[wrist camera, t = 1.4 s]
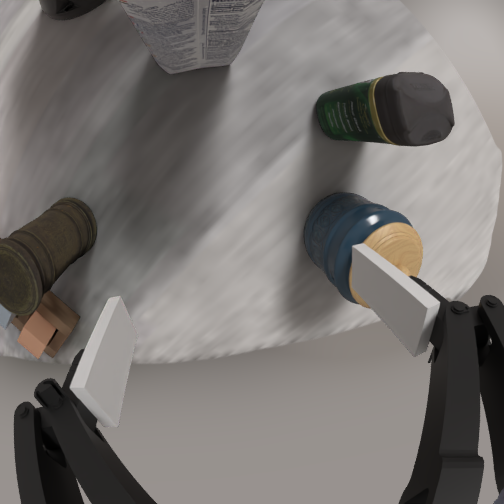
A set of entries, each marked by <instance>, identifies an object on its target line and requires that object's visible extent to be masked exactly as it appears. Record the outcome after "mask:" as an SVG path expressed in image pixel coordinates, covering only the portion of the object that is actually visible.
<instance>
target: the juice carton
mask: <svg viewBox="0 0 504 504" xmlns="http://www.w3.org/2000/svg"><path fill="white" fill-rule="evenodd" d="M119 2H120V3H121V5H122V7H123V8H124V10H125V12H126V13H127V15H128V17H129V18H130V20H131V21H132V23H133V25H134V26H135V28H136V30H137V31H138V33H139V35H140V36H141V38H142V39H143V41H144V43H145V44H146V46H147V48H148V49H149V51H150V53H151V54H152V56H153V57H154V59H155V61H156V62H157V63H158V65H159V66H160V67H162V68H163V69H164V70H165V71H166V72H167V73H169V74H175V73H180V72H185V71H189V70H193V69H198V68H206V67H217V66H225V65H230V64H231V63H232V62H233V61H234V59H235V58H236V57H237V55H238V54H239V52H240V50H241V48H242V46H243V44H244V42H245V40H246V37H247V35H248V33H249V31H250V29H251V27H252V24H253V22H254V20H255V18H256V16H257V14H258V12H259V10H260V8H261V6H262V4H263V2H264V0H119Z"/></svg>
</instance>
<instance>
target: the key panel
mask: <svg viewBox="0 0 504 504" xmlns="http://www.w3.org/2000/svg"><path fill="white" fill-rule="evenodd" d="M0 240H2V239H1V238H0ZM36 311H37V312H38V313H39V314H40V315H42V316H43V317H44V318H45V319H46V320H47V321H48V322H49V323H51V324H52V325H53V326H54V327H55V328H56V329H58V331H57V332H56V333H55V332H54V334H53V335H52V337H51V339H50V340H49V342H48V344H47V346H46V347H45V349H44V352H45V353H47V354H48V355H49V356H50V357H52V358H53V357H54V356H55V354H56V353H57V351H58V350H59V348H60V347H61V346H62V344H63V343H64V341H65V340H66V339H67V337H68V336H69V335H70V333H71V332H72V331H73V329H74V327H75V325H76V323H77V321H78V320H79V318H80V316H78V315H77V314H76V313H75V312H74V311H72V310H71V309H70V308H69V307H68V306H67V305H65V304H64V303H63V302H62V301H61V300H60V299H59V298H58V297H57V296H55V295H54V294H53V293H52V292H51V291H50V290H49V291H48V292H47V293H45V294H44V296H43V298H42V300H41V303H40V305H39V307H38V308H37V310H36ZM34 312H35V311H34ZM34 312H33V313H34ZM33 313H31V314H29V315H25V316H20V315H16V316H15V318H14V319H13V320H12V321H11V323H12V324H14V325H15V326H16V327H17V328H18V329H19V330H20V331H22V329H23V327H24V325H25V324H26V323H27V321H28V320H29V319H30V317H31V316H32V315H33Z"/></svg>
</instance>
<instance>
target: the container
mask: <svg viewBox="0 0 504 504" xmlns="http://www.w3.org/2000/svg"><path fill="white" fill-rule="evenodd" d="M96 234H97V226H96V221H95V218H94V215H93V213H92V211H91V210H90V208H89V207H88V206H87V205H86V204H85V203H83V202H82V201H80V200H78V199H75V198H63V199H61V200H59V201H58V202H56V203H55V204H53V205H52V206H51V208H50V209H48V210H47V211H45V212H44V213H43V214H42V215H41V216H40V217H38V218H36V219H35V220H33V221H31V222H30V223H28V224H27V225H25V226H23V227H22V228H20V229H19V230H16V231H14V232H13V233H12V234H11V235H10V236H9V237H8V238H5V239H2V240H0V304H1V305H2V306H3V307H4V308H5V309H7V310H8V311H10V312H11V313H14V314H16V315H20V316H25V315H29V314H31V313H33V312H34V311H36V310H37V308H38V307H39V305H40V303H41V300H42V298H43V296H44V294H45V293H47V292H48V291H49V290H50V289H51V287H52V285H53V284H54V282H55V281H56V280H57V279H58V278H59V277H60V276H61V274H62V273H63V272H64V271H65V270H66V269H67V268H68V266H69V265H70V264H72V263H74V262H75V261H76V260H77V259H78V258H80V257H81V256H83V255H84V254H85V253H86V252H88V251H89V250H90V249H91V247H92V246H93V244H94V242H95V239H96Z"/></svg>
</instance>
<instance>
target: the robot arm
mask: <svg viewBox="0 0 504 504" xmlns="http://www.w3.org/2000/svg"><path fill="white" fill-rule="evenodd" d="M104 1H106V0H39V2H40V5H41V8H42V10H43V11H44V12H45V13H46V14H47V15H48V16H50V17H51V18H53V19H56V20H67V19H72V18H75V17H78V16H81V15H83V14H85V13H87V12H89V11H91V10H93V9H94V8H96V7H97V6H99V5H100V4H102V3H103V2H104ZM352 288H353V289H354V290H355V291H356V292H357V294H358V295H359V296H360V297H361V298H362V299H363V300H364V301H365V302H366V303H367V304H368V305H369V307H370V308H371V309H372V310H373V311H374V312H375V313H376V314H377V315H378V317H379V318H380V319H381V320H382V321H383V322H384V323H385V324H386V325H387V327H388V328H389V329H390V330H391V331H392V332H393V333H394V335H395V336H396V337H397V338H398V339H399V340H400V341H401V342H402V344H403V345H404V346H405V347H406V348H407V350H408V351H409V352H410V353H411V354H412V355H413V357H416V356H418V355H420V354H421V353H423V352H425V351H426V350H427V347H428V344H429V341H430V342H431V343H432V344H433V345H434V347H433V350H432V353H431V355H430V358H429V361H428V363H430V362H431V359H432V362H431V375H430V385H429V394H428V401H427V408H426V415H425V421H424V426H423V431H422V436H421V441H420V445H419V449H418V454H417V458H416V461H415V465H414V469H413V472H412V476H411V479H410V481H409V483H408V485H407V487H406V489H405V490H404V492H403V494H402V496H401V499H400V501H399V504H477V501H478V497H479V493H480V488H481V482H482V476H483V470H484V460H483V457H480V456H478V441H479V427H480V393H481V397H482V401H483V405H484V409H485V414H486V418H487V423H488V429H489V434H490V440H491V447H492V454H493V462H494V472H495V480H496V484H497V489H498V492H499V496H498V499H496V501H494V503H493V504H504V305H503V304H502V302H501V301H500V300H499V299H498V298H496V297H495V296H492V295H485V296H483V297H482V298H481V300H480V303H479V306H474V307H469V306H468V305H466V304H464V303H463V302H459V301H452V302H448V301H447V300H446V299H445V298H444V297H442V296H441V295H440V294H439V293H437V292H436V291H435V290H434V289H432V288H431V287H430V286H429V285H427V284H426V283H425V282H423V281H422V280H421V279H419V278H417V277H414V276H412V275H411V276H407V275H406V274H404V273H403V272H402V271H400V270H399V269H398V268H396V267H395V266H394V265H392V264H391V263H390V262H388V261H387V260H386V259H384V258H383V257H382V256H380V255H379V254H378V253H376V252H375V251H374V250H372V249H371V248H369V247H368V246H367V245H365V244H364V243H362V244H357V245H353V246H352ZM137 337H138V333H137V331H136V329H135V327H134V325H133V322H132V320H131V318H130V316H129V314H128V312H127V309H126V307H125V305H124V302H123V300H122V298H121V296H117V297H111V298H109V299H108V301H107V303H106V305H105V307H104V309H103V311H102V313H101V315H100V317H99V319H98V321H97V324H96V326H95V328H94V330H93V332H92V334H91V337H90V339H89V341H88V343H87V346H86V348H85V349H81V350H80V351H79V353H78V354H77V355H76V356H75V358H74V360H73V363H72V366H71V367H70V370H69V372H68V374H67V377H66V380H65V382H64V384H63V387H62V388H61V387H60V386H59V384H58V383H57V382H56V381H55V379H51V378H50V379H45V380H43V381H42V382H41V383H39V384H38V386H37V387H36V389H35V392H34V397H35V398H36V399H37V400H38V402H39V403H40V404H41V405H42V406H43V407H40V408H35V407H34V406H33V405H32V404H31V403H30V402H23V403H21V404H20V405H19V406H18V407H17V409H16V410H15V414H14V448H15V463H16V473H17V480H18V488H19V494H20V499H21V504H84V502H83V499H82V496H81V493H80V490H79V487H78V483H77V480H78V482H79V483H80V485H81V487H82V488H83V490H84V492H85V494H86V495H87V497H88V499H89V500H90V502H91V503H92V504H157V503H156V502H155V501H154V500H153V499H152V498H151V497H150V496H149V495H148V494H147V493H146V491H145V490H144V489H143V488H142V487H141V485H140V484H139V483H138V482H137V481H136V480H135V478H134V477H133V476H132V475H131V473H130V472H129V471H128V470H127V469H126V467H125V466H124V465H123V463H122V462H121V461H120V459H119V458H118V457H117V455H116V454H115V452H114V451H113V450H112V448H111V447H110V445H109V444H108V442H107V441H106V439H105V438H104V436H103V435H102V433H101V432H100V430H98V428H96V423H97V420H98V421H99V422H100V423H101V424H102V425H103V426H104V427H119V421H120V415H121V409H122V404H123V399H124V394H125V388H126V383H127V378H128V374H129V370H130V366H131V361H132V357H133V353H134V349H135V345H136V341H137ZM490 338H491V340H492V344H491V342H490ZM76 478H77V480H76Z"/></svg>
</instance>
